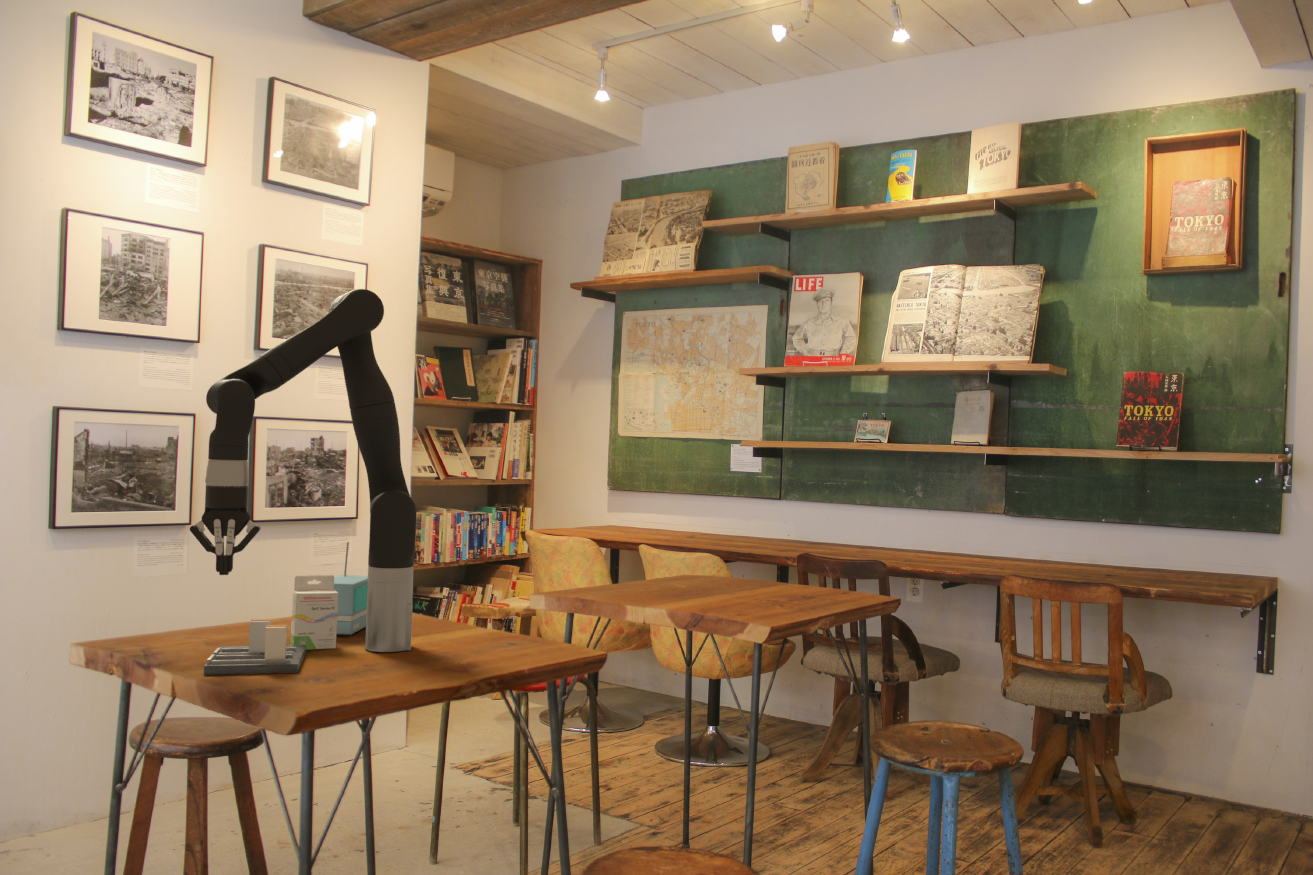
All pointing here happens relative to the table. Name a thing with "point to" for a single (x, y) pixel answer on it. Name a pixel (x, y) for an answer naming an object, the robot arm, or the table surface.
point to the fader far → (258, 634)
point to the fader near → (276, 642)
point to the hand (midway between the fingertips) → (223, 574)
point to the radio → (351, 602)
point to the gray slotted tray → (252, 661)
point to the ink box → (314, 612)
